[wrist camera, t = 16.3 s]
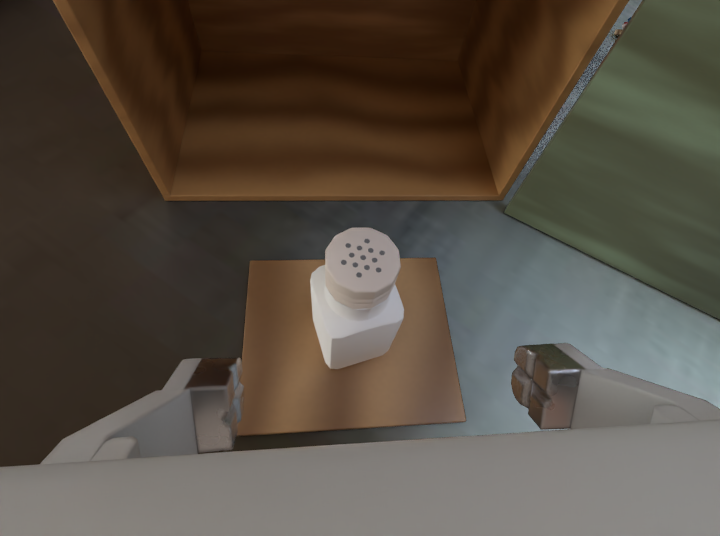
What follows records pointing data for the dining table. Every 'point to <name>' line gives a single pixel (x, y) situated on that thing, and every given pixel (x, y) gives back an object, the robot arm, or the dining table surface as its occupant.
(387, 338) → the pepper shaker
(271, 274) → the coaster
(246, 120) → the cupboard
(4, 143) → the dining table surface
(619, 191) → the cupboard door
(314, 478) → the robot arm
